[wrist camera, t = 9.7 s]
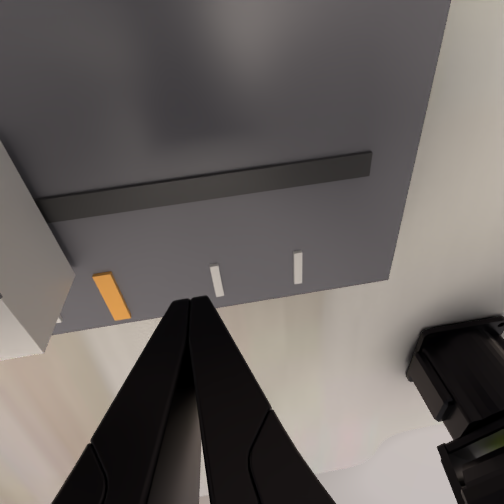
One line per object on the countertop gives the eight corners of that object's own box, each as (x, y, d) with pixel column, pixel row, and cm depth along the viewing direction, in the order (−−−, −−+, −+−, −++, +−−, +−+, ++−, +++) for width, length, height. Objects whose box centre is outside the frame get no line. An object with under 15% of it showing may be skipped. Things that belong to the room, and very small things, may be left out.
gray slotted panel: (430, -72, 11) (474, -82, 9) (372, 256, 20) (389, 282, 18) (-292, 4, 10) (-392, 8, 8) (-15, 318, 19) (-36, 352, 17)
